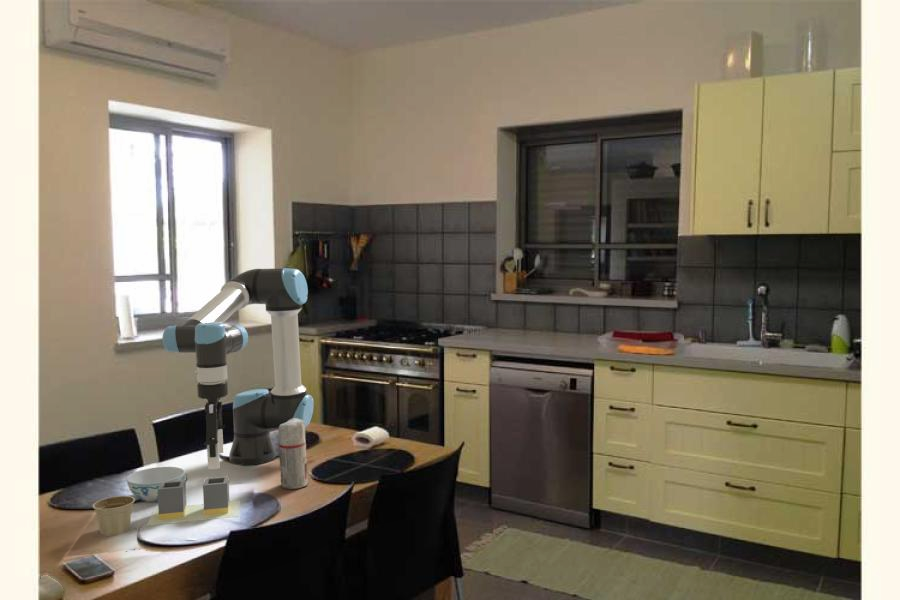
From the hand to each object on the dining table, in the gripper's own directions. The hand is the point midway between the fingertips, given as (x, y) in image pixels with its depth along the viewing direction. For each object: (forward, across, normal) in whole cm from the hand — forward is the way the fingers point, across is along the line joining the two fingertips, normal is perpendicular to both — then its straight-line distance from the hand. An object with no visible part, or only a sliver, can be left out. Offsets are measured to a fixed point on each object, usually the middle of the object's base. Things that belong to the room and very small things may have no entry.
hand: (216, 460), depth 184 cm
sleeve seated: (+13, +1, -11) cm, 17 cm away
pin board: (+15, +1, -6) cm, 16 cm away
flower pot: (+15, +8, -24) cm, 29 cm away
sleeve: (+13, +1, 0) cm, 13 cm away
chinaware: (+15, -15, -18) cm, 28 cm away
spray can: (+16, -18, +20) cm, 31 cm away
